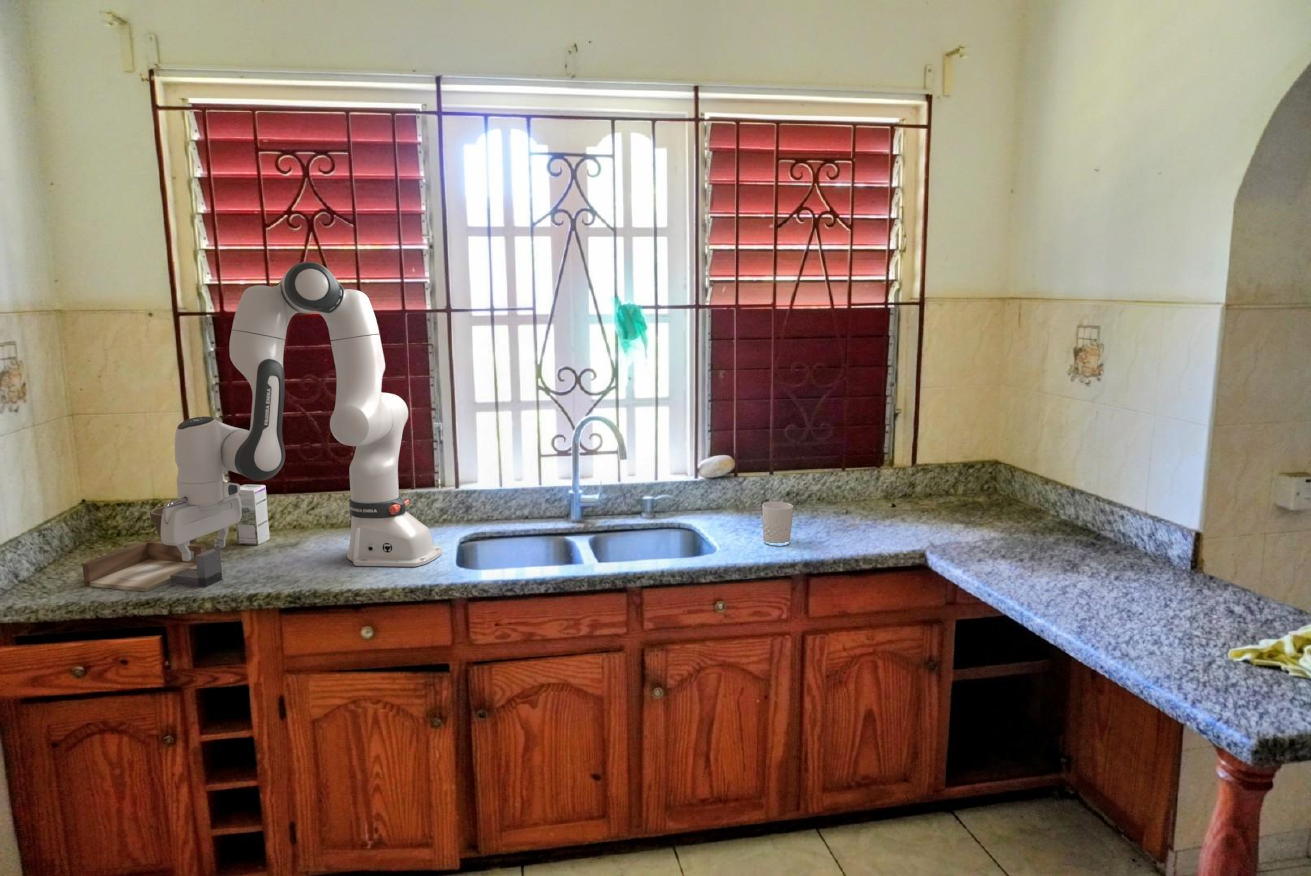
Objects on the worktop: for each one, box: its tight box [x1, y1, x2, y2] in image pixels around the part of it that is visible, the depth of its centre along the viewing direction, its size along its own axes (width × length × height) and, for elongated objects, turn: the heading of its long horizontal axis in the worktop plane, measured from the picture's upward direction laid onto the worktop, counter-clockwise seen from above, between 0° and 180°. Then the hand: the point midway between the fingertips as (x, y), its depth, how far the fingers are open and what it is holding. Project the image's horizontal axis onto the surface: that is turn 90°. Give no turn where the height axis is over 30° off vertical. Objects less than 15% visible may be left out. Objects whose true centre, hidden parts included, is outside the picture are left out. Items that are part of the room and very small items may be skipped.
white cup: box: [761, 501, 794, 543], centre depth 222 cm, size 8×8×10 cm
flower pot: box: [149, 505, 197, 544], centre depth 214 cm, size 12×11×10 cm
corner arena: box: [81, 539, 207, 593], centre depth 195 cm, size 16×18×5 cm
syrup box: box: [235, 484, 270, 546], centre depth 220 cm, size 6×6×14 cm
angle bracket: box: [170, 548, 223, 588], centre depth 191 cm, size 9×5×7 cm, turn 78°
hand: (204, 553), depth 190 cm, fingers open, 8 cm apart
